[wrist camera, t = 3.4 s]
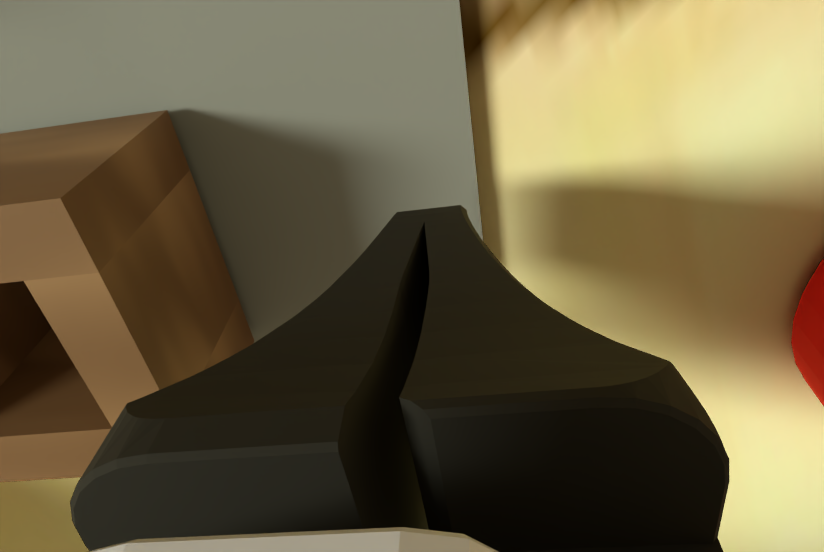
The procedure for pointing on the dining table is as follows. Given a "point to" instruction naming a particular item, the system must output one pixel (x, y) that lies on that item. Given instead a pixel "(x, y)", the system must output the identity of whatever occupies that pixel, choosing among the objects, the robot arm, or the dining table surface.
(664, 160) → the dining table surface
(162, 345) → the block
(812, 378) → the soda can
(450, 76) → the mat with wall
